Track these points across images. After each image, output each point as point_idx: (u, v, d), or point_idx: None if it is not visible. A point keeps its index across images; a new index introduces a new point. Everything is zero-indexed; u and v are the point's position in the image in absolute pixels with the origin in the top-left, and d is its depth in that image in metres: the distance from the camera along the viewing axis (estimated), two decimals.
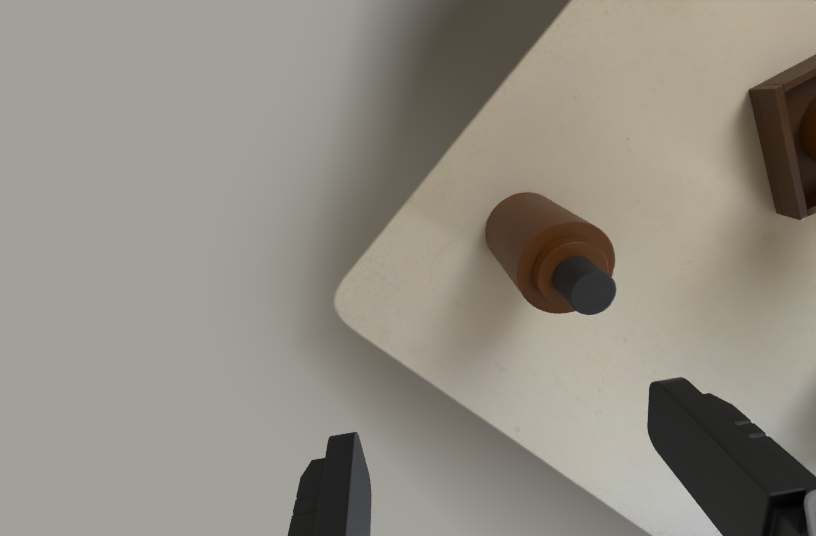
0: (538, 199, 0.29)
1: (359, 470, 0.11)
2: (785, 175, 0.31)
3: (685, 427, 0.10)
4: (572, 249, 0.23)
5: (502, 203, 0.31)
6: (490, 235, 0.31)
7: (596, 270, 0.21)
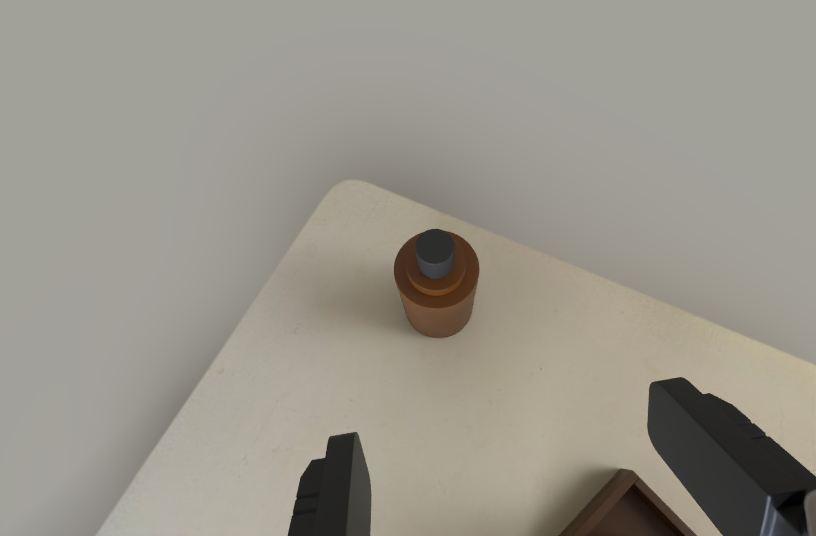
0: None
1: (359, 470, 0.11)
2: None
3: (685, 427, 0.10)
4: (458, 253, 0.28)
5: None
6: None
7: (454, 244, 0.26)
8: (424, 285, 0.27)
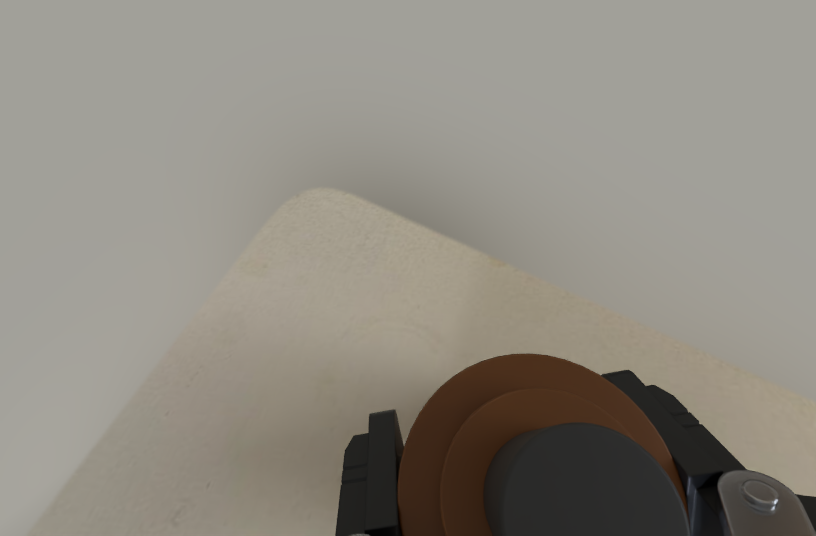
0: None
1: (399, 445, 0.11)
2: None
3: None
4: None
5: None
6: None
7: None
8: None
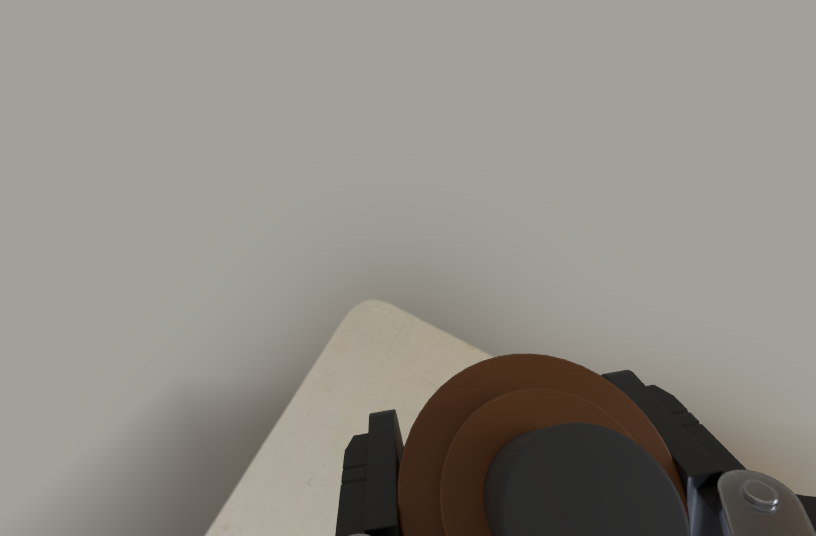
0: None
1: (399, 445, 0.11)
2: None
3: None
4: None
5: None
6: None
7: None
8: None
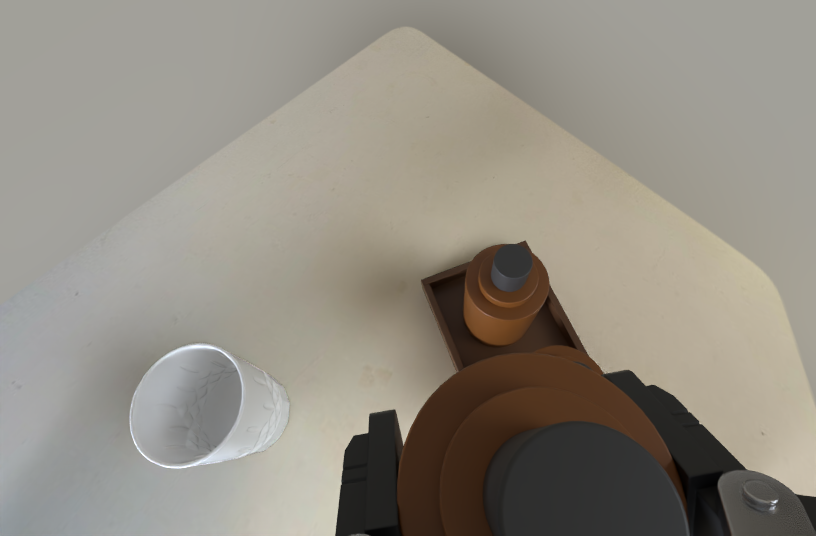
0: None
1: (399, 445, 0.11)
2: None
3: None
4: None
5: None
6: None
7: None
8: None
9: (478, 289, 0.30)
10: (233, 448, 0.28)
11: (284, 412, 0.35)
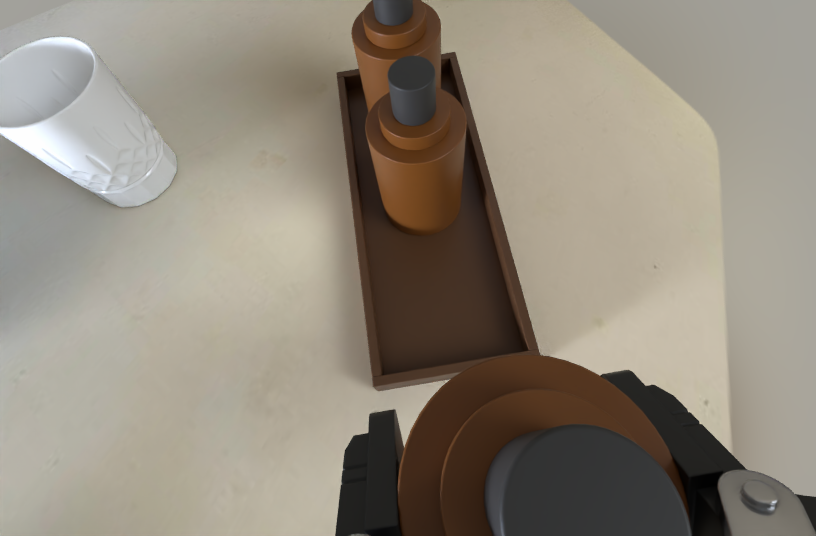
0: None
1: (399, 445, 0.11)
2: None
3: None
4: None
5: None
6: None
7: None
8: None
9: (363, 31, 0.28)
10: (75, 141, 0.27)
11: (164, 169, 0.34)
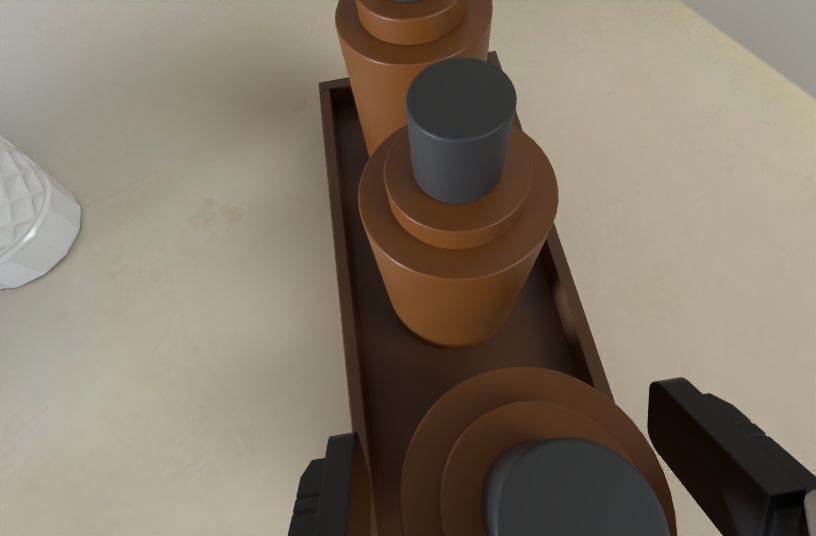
0: None
1: (359, 470, 0.11)
2: None
3: (686, 427, 0.10)
4: None
5: None
6: None
7: None
8: None
9: (355, 14, 0.16)
10: None
11: (53, 232, 0.22)
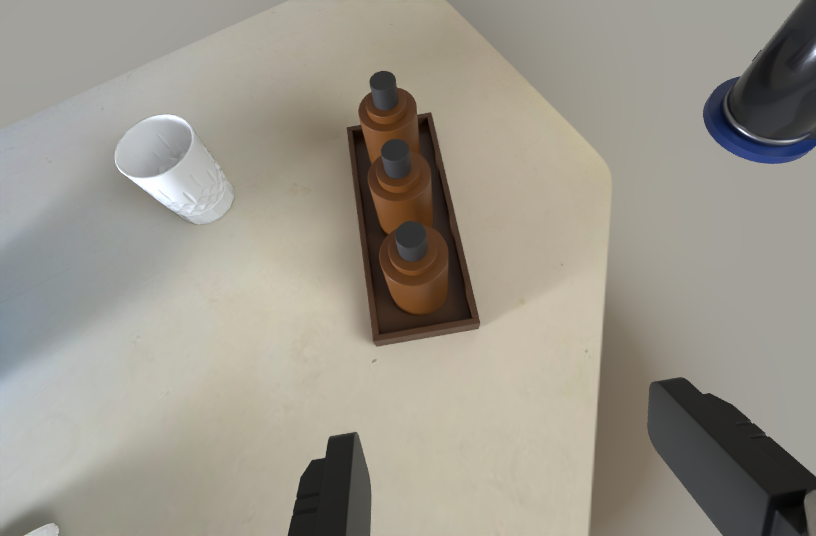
0: None
1: (359, 470, 0.11)
2: None
3: (686, 427, 0.10)
4: (431, 242, 0.35)
5: None
6: None
7: (426, 233, 0.33)
8: (402, 266, 0.34)
9: (366, 111, 0.42)
10: (179, 184, 0.42)
11: (227, 197, 0.49)
